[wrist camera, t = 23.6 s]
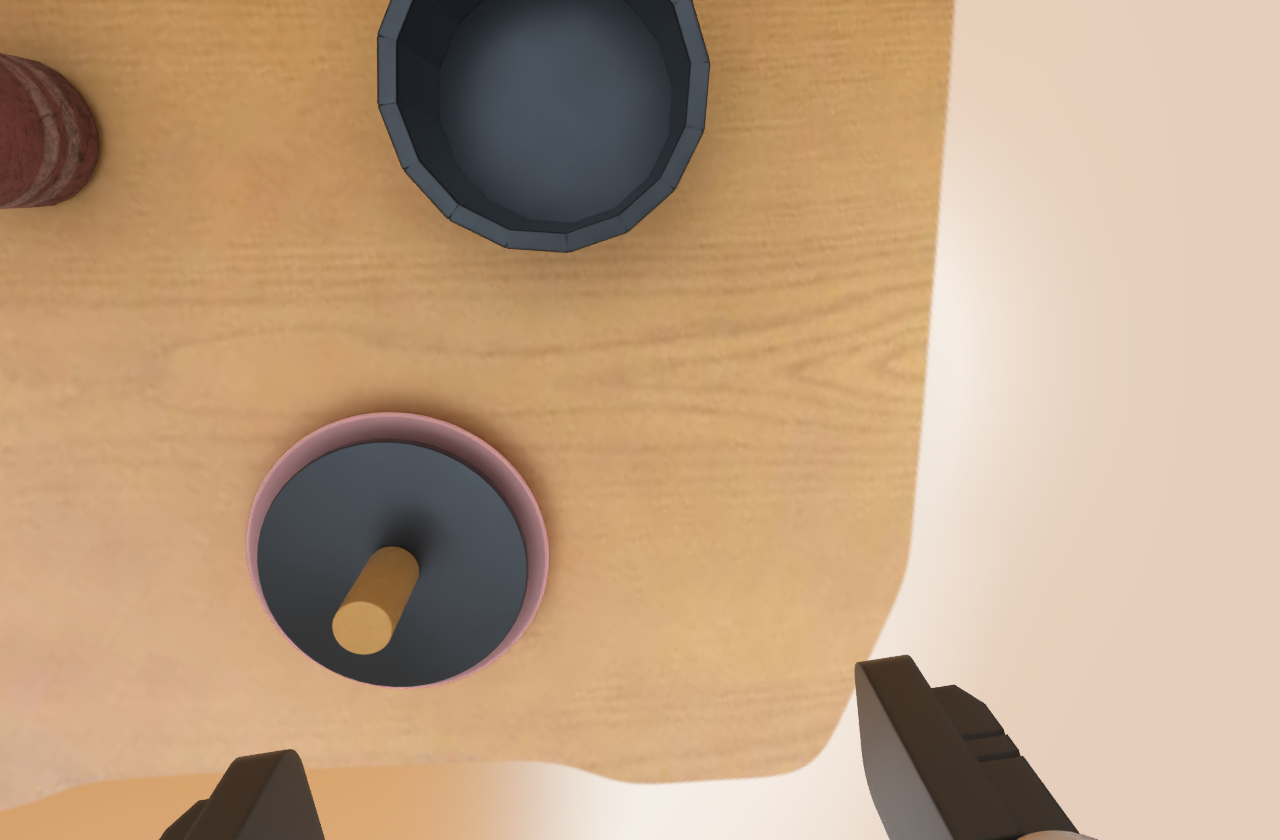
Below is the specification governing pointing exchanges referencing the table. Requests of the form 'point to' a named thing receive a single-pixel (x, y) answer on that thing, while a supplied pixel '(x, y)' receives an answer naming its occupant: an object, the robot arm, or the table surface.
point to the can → (42, 136)
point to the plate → (436, 435)
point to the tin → (543, 111)
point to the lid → (393, 562)
